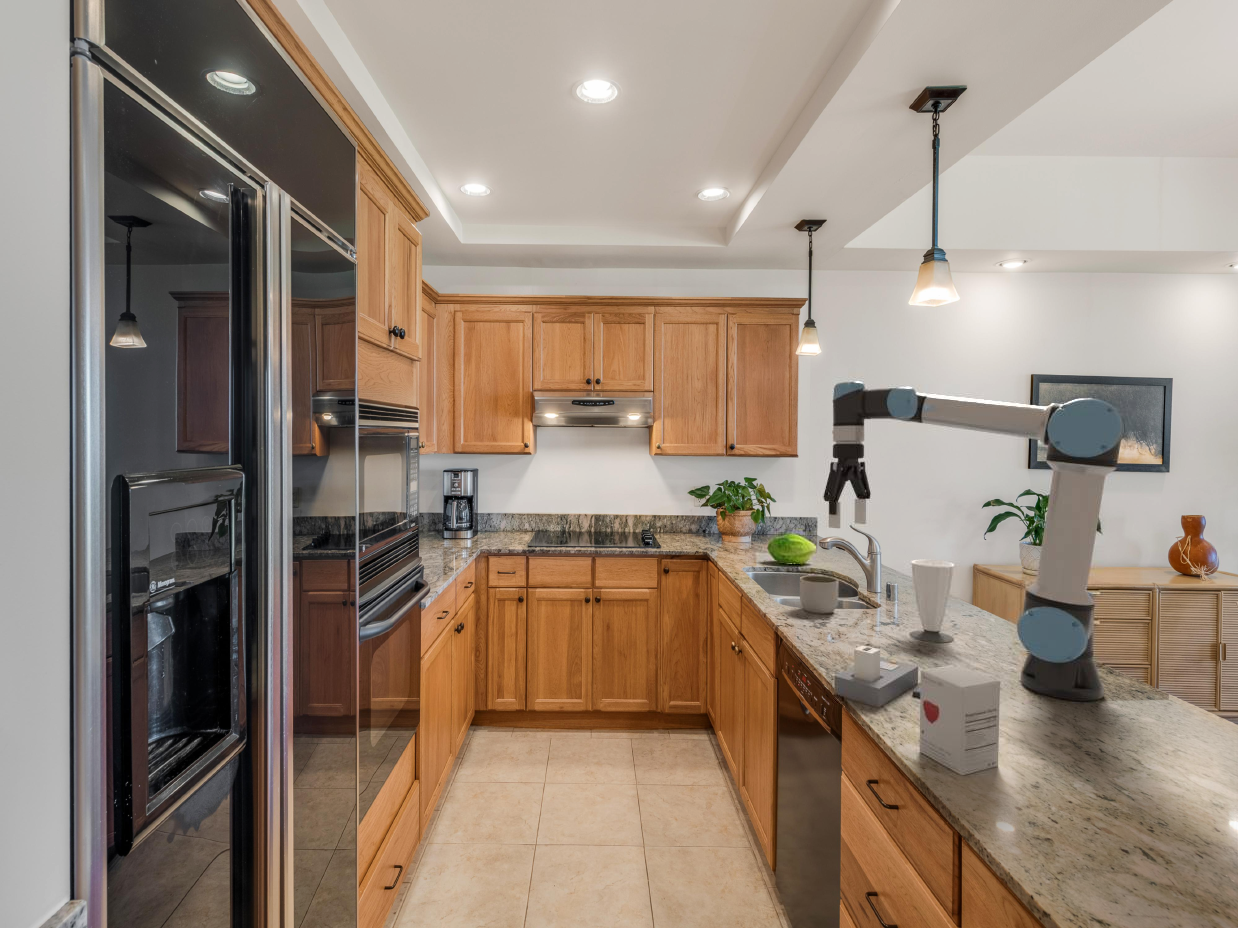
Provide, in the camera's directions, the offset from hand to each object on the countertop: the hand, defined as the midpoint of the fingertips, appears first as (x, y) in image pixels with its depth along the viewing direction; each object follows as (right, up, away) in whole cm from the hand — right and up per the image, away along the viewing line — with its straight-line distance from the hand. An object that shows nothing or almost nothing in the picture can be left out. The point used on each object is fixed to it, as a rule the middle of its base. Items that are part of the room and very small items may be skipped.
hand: (847, 525), depth 157 cm
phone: (+13, -35, -24) cm, 45 cm away
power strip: (0, -35, -18) cm, 40 cm away
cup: (+32, -35, +20) cm, 51 cm away
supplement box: (0, -36, -50) cm, 62 cm away
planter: (+9, -34, +49) cm, 60 cm away
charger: (-4, -34, -22) cm, 41 cm away
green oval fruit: (+24, -32, +136) cm, 142 cm away
